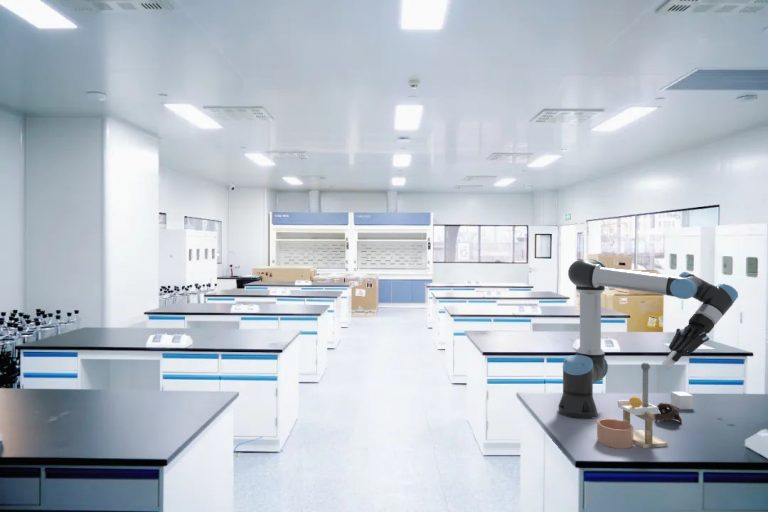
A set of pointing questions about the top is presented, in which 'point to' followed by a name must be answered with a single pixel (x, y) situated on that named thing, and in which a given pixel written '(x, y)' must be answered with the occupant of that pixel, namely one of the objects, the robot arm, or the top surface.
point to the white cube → (682, 400)
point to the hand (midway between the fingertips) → (665, 366)
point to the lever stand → (645, 432)
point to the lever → (645, 405)
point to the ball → (635, 402)
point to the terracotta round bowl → (615, 433)
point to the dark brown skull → (667, 413)
